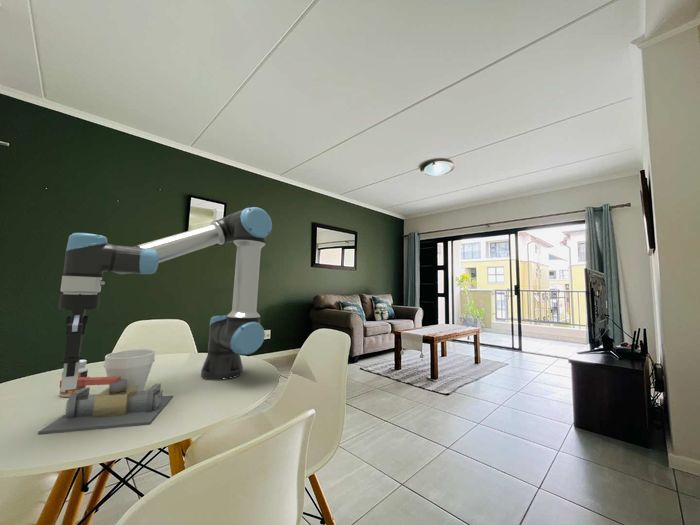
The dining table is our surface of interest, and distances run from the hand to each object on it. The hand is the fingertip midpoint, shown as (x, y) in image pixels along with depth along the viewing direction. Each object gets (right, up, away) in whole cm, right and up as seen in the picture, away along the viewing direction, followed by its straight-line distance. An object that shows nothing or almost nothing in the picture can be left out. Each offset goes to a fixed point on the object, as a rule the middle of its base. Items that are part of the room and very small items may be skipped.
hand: (68, 388), depth 70 cm
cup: (+3, -10, +15) cm, 18 cm away
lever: (+2, -3, +5) cm, 6 cm away
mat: (+7, -9, +6) cm, 13 cm away
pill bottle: (-16, -10, +17) cm, 25 cm away
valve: (+7, -9, +6) cm, 13 cm away
